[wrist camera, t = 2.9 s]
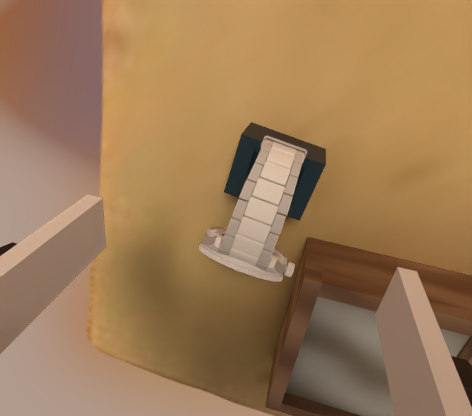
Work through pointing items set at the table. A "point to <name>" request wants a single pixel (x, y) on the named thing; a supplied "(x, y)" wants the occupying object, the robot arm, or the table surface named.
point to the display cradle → (352, 331)
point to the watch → (264, 201)
